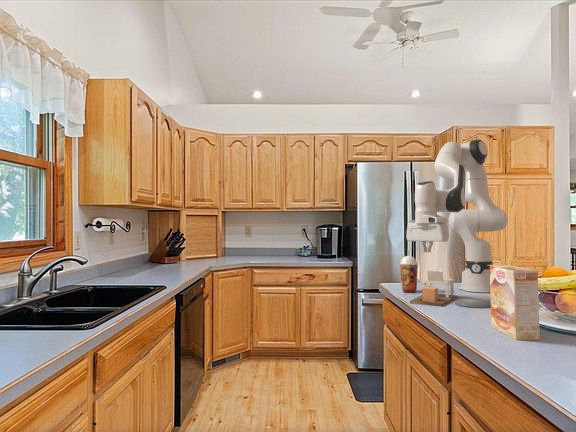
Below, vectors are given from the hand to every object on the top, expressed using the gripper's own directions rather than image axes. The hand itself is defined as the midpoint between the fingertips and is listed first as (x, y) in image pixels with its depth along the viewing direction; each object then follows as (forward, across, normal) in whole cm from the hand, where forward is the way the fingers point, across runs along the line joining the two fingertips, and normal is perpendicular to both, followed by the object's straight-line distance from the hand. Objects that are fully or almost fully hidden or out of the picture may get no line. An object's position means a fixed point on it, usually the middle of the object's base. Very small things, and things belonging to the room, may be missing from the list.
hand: (426, 252), depth 173 cm
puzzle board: (+20, 0, +4) cm, 21 cm away
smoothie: (+20, -21, +11) cm, 31 cm away
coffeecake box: (+22, +48, -17) cm, 55 cm away
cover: (+19, -3, +10) cm, 22 cm away
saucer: (+21, +15, +10) cm, 27 cm away
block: (+21, +2, -1) cm, 21 cm away
